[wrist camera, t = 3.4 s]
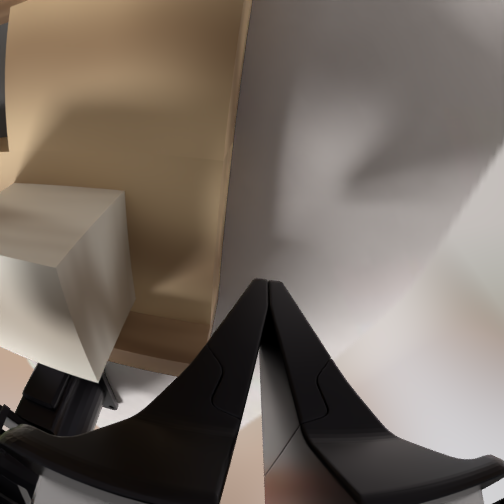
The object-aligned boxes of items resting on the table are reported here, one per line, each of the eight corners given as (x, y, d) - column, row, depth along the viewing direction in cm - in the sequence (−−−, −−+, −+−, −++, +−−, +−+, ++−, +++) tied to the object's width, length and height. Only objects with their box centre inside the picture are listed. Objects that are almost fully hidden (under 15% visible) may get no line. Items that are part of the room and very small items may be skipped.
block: (135, 299, 12) (98, 383, 8) (37, 277, 11) (-10, 342, 8) (124, 190, 9) (55, 267, 6) (13, 182, 9) (-58, 240, 6)
